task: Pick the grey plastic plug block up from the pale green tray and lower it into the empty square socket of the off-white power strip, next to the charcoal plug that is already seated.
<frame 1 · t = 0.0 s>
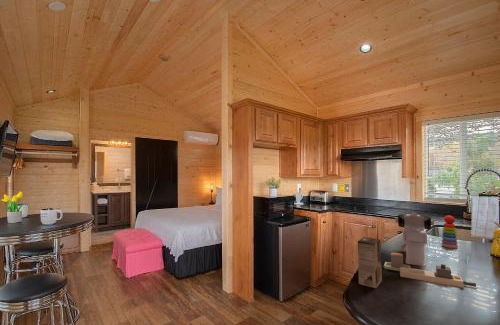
hand: (414, 222, 109), 22 cm above the countertop, tool horizontal, fingers open, 7 cm apart
coffee box: (370, 283, 99), on the countertop
stacking toy: (449, 247, 156), on the countertop
power strip: (429, 279, 102), on the countertop
tray: (397, 269, 115), on the countertop
plug: (397, 268, 115), resting on tray
seated twin plug: (443, 282, 100), resting on power strip
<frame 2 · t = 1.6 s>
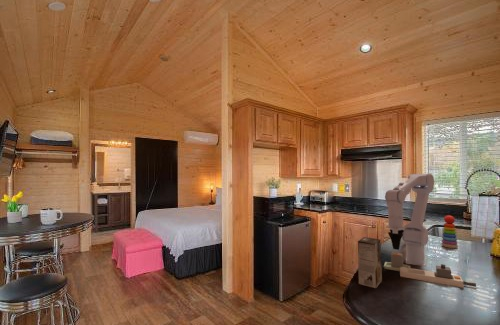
hand: (396, 247, 115), 9 cm above the countertop, tool pointing down, fingers open, 7 cm apart
nothing on the countertop moved.
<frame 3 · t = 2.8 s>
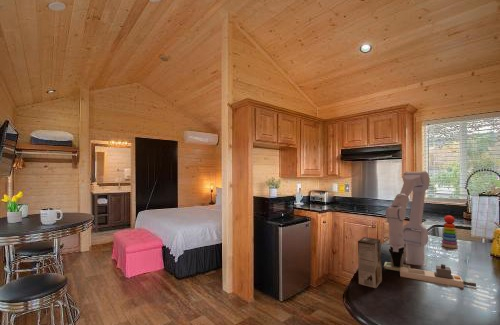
hand: (397, 264, 115), 2 cm above the countertop, tool pointing down, fingers closed on plug, 4 cm apart
plug: (397, 268, 115), resting on tray, touching gripper
everything else where it was.
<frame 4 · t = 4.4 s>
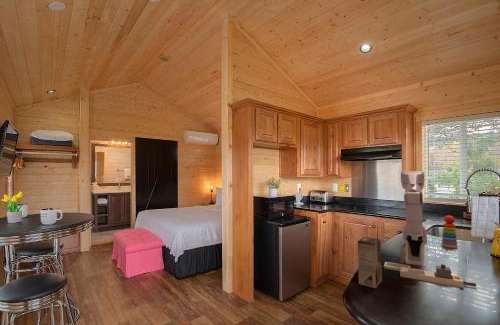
hand: (415, 254, 105), 9 cm above the countertop, tool pointing down, fingers closed on plug, 4 cm apart
plug: (414, 259, 105), point 7 cm above the countertop, touching gripper
everything else where it was.
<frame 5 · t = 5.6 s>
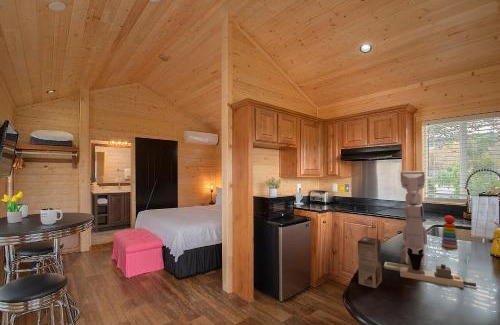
hand: (415, 268, 105), 4 cm above the countertop, tool pointing down, fingers closed on plug, 4 cm apart
plug: (415, 272, 105), point 2 cm above the countertop, touching gripper
everything else where it was.
when the fingers open (3 cm above the countertop, at t = 6.1 s): plug drops 1 cm, resting on power strip.
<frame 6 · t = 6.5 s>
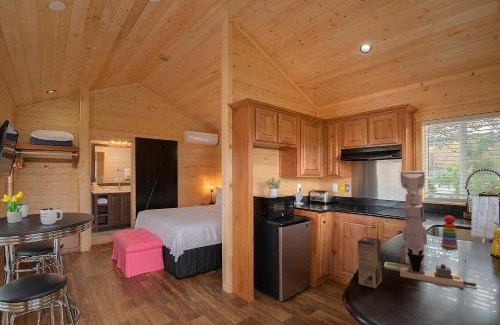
hand: (415, 268, 105), 3 cm above the countertop, tool pointing down, fingers open, 7 cm apart
plug: (415, 276, 105), resting on power strip
everything else where it was.
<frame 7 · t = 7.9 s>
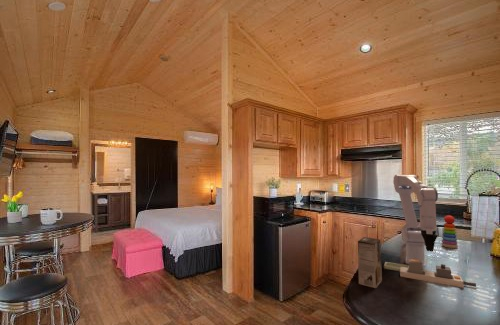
hand: (429, 249, 109), 10 cm above the countertop, tool pointing down, fingers open, 7 cm apart
nothing on the countertop moved.
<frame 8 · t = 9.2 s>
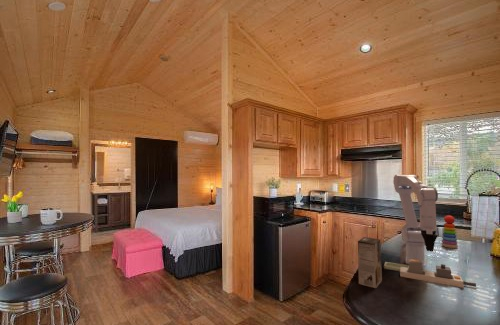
hand: (429, 249, 109), 10 cm above the countertop, tool pointing down, fingers open, 7 cm apart
nothing on the countertop moved.
at the end: plug 0.2 cm from the target spot on the power strip, point 0.4 cm above the power strip's base; plug tilted 0°; the gripper is holding nothing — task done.
